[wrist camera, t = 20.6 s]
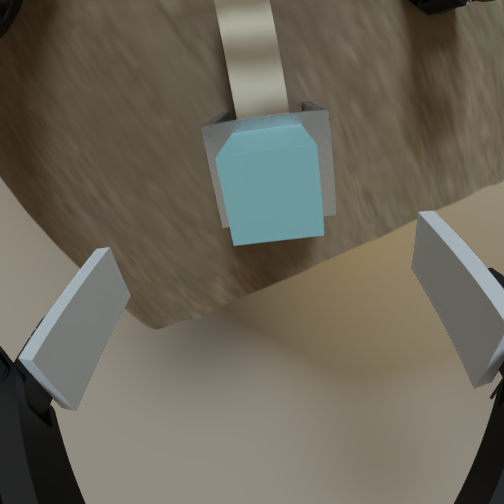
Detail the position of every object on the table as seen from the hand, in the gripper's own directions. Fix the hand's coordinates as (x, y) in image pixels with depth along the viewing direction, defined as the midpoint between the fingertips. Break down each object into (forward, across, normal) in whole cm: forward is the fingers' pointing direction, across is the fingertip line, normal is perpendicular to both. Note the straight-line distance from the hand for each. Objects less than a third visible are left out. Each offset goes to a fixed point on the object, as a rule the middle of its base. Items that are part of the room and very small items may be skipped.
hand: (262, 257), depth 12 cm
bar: (+29, 0, +9) cm, 30 cm away
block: (+16, 0, 0) cm, 16 cm away
